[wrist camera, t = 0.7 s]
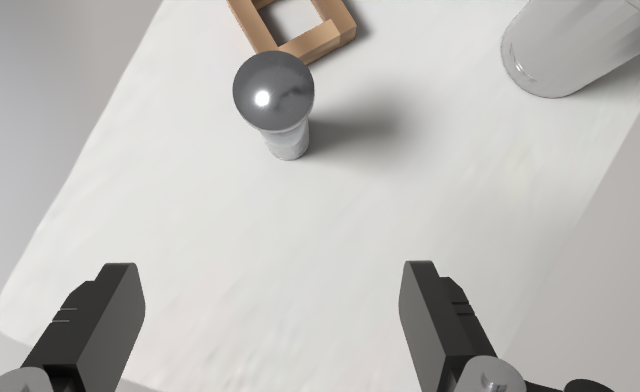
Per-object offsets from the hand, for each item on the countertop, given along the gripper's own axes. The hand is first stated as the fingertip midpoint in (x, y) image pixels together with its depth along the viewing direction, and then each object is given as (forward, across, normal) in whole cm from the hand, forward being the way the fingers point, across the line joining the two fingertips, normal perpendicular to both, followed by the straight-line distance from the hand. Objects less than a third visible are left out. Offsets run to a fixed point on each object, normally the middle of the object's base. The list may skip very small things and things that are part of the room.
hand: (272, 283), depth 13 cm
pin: (+28, 0, +6) cm, 28 cm away
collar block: (+34, 0, -3) cm, 34 cm away
